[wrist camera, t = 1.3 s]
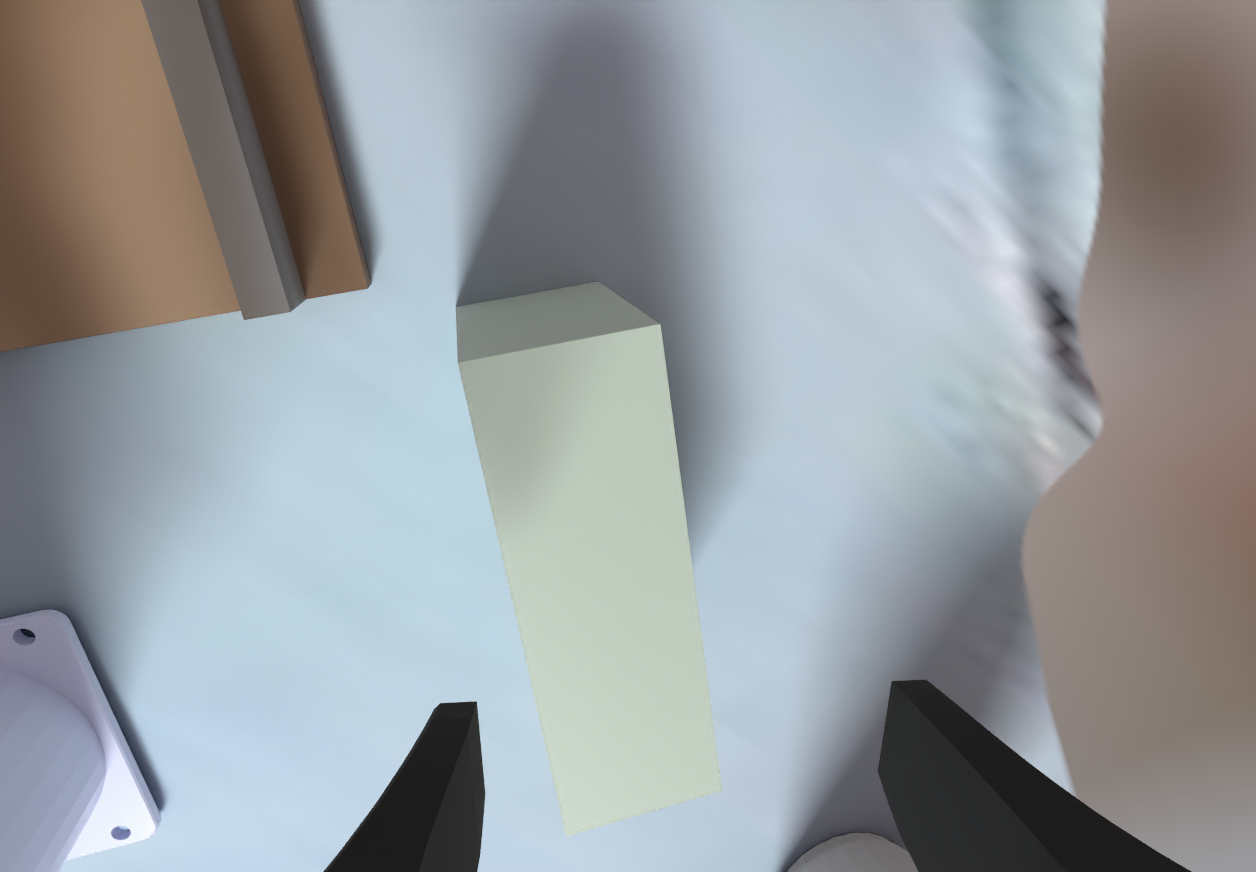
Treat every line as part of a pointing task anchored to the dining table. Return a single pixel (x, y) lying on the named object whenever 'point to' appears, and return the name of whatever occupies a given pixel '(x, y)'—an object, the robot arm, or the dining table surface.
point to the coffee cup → (855, 856)
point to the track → (163, 167)
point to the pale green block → (593, 544)
